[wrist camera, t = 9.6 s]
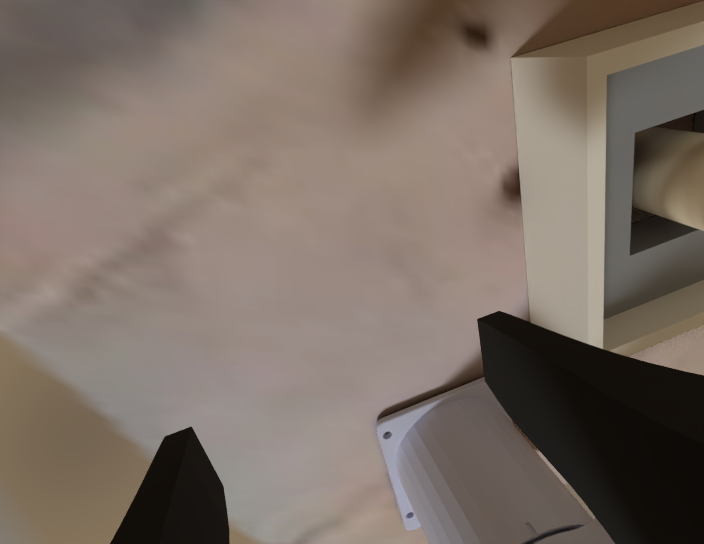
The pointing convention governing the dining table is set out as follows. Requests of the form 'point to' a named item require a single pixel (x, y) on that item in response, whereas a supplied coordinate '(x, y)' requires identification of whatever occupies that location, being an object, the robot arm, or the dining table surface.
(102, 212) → the dining table surface
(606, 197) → the box
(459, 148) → the dining table surface
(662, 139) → the peg
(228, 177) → the dining table surface
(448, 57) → the dining table surface
